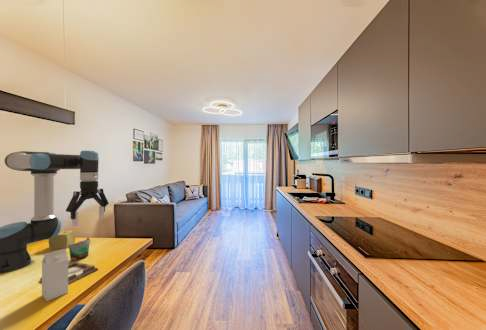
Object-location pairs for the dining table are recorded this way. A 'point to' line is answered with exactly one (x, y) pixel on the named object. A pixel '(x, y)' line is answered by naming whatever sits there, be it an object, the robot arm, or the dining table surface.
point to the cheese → (62, 240)
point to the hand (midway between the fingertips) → (89, 221)
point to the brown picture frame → (78, 271)
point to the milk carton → (54, 274)
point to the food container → (79, 250)
